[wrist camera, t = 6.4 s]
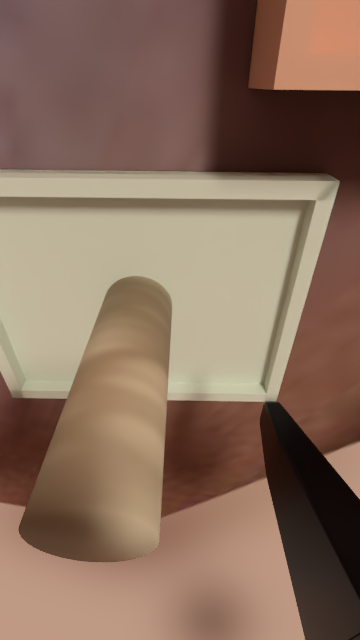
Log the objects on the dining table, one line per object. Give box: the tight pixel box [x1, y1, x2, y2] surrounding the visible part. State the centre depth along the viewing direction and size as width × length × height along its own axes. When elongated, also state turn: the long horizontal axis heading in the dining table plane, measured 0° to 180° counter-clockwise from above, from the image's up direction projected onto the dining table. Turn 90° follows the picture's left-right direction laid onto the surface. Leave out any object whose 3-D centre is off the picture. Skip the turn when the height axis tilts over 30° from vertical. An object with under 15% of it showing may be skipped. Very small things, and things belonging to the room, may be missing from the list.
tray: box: [0, 169, 340, 402], centre depth 14 cm, size 14×11×1 cm
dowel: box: [19, 276, 172, 562], centre depth 10 cm, size 3×3×9 cm
